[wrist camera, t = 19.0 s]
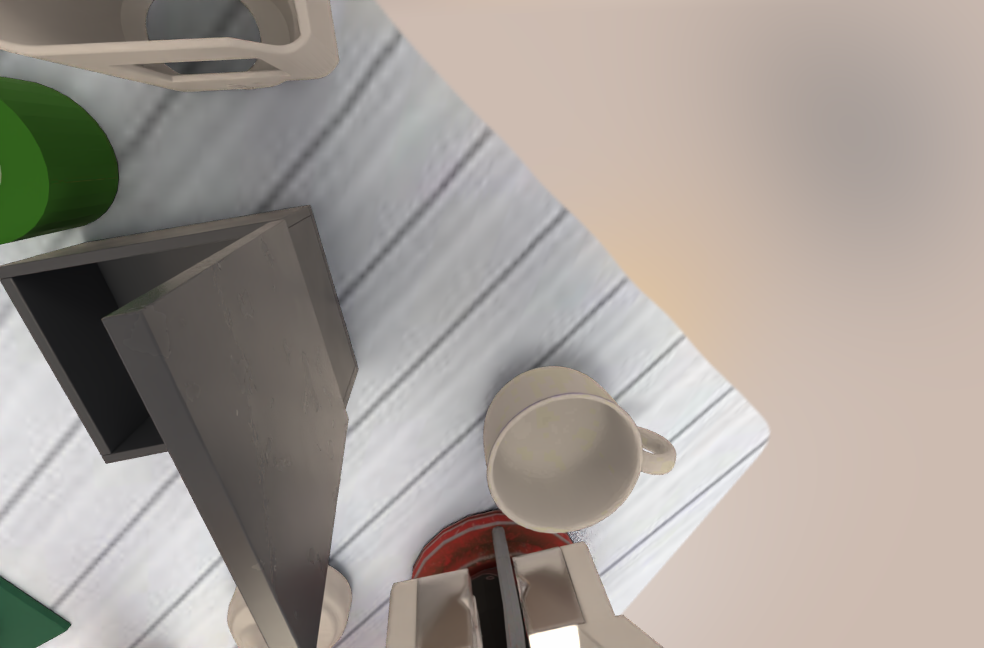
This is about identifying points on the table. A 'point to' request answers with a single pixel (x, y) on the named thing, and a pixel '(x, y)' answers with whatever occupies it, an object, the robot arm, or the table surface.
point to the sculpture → (330, 622)
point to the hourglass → (489, 569)
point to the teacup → (565, 451)
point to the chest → (121, 279)
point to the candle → (50, 163)
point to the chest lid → (247, 418)
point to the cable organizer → (172, 42)
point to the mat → (26, 619)
